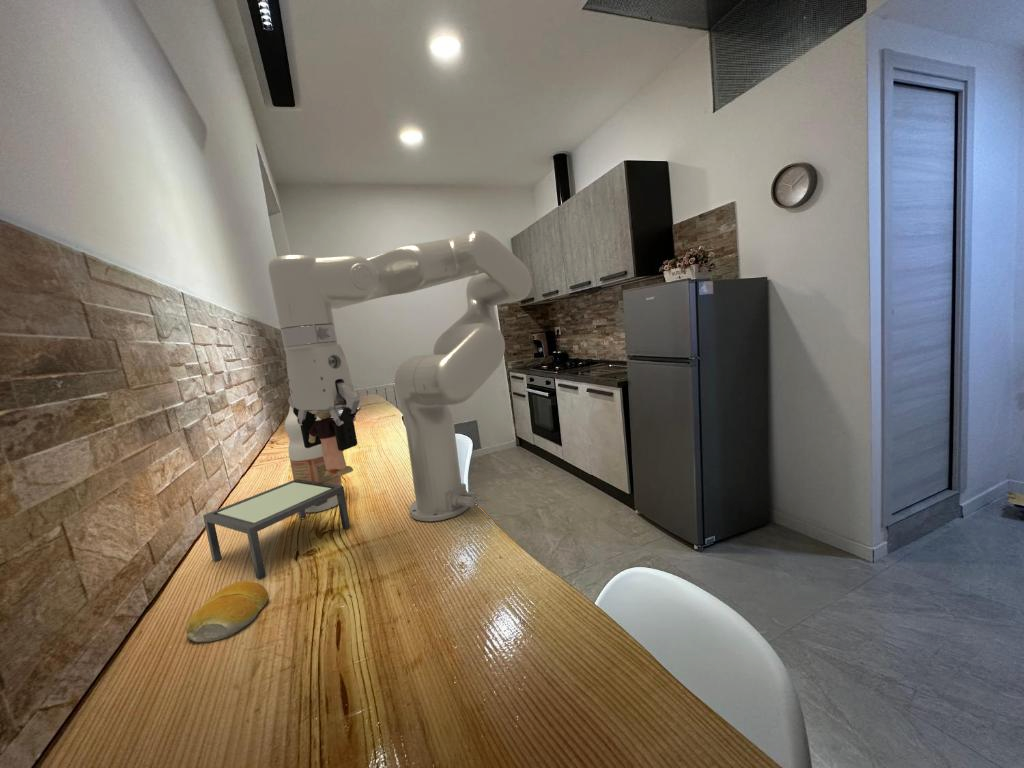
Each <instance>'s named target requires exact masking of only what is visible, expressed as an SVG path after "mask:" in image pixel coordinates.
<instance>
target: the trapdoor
mask: <svg viewBox="0 0 1024 768" xmlns="http://www.w3.org/2000/svg"><path fill="white" fill-rule="evenodd" d="M331 489H332V488H326V487H320V486H314V485H308V484H301V483H295V482H294V483H291V484H289V485H286V486H284V487H281V488H278V489H276V490H273V491H271V492H268V493H266V494H263V495H261V496H258V497H256V498H253V499H251V500H248V501H246V502H243V503H240V504H238V505H235V506H233V507H230V508H228V509H225V510H223V511H220V512H218V513H217V515H219V516H223V517H226V518H230V519H234V520H237V521H241V522H244V523H248V524H252V525H253V524H256V523H258V522H260V521H262V520H264V519H267V518H269V517H271V516H273V515H276V514H278V513H280V512H282V511H285V510H287V509H289V508H291V507H293V506H296V505H298V504H300V503H302V502H305V501H307V500H309V499H311V498H313V497H316V496H318V495H320V494H322V493H325V492H327V491H329V490H331ZM326 502H327V499H326V500H324V501H322V502H320V503H318V504H315V505H314V506H320V505H322V504H324V503H326Z"/></svg>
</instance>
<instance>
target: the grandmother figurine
mask: <svg viewBox="0 0 1024 768" xmlns="http://www.w3.org/2000/svg"><path fill="white" fill-rule="evenodd" d="M311 413H312V414H315V415H317V416H318V417H319V418H320V419H321V420H319V421H317V422H316V423H315V424H314V425H313V426H312V427H311V429H310V430H309V437H310V438H309V442H310V443H314V442H315V438H316V436H317V435H319V438H320V440H321V445H322V453H323V458H324V462H325V466H326V470H327V472H326V473H325V476H331V475H334V474H336V476H344V475H347V474H350V473H352V472H353V471H354V469H353V467H352V466H349V465H347V463H346V460H345V455H344V453H343V452H344V451H339V450H338V446H337V441H336V436H335V430H334V426H336V425H337V424H336V422H335V421H334V419H333V417H332V416H331V414H330V412H329V411H316V410H312V411H311Z"/></svg>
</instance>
